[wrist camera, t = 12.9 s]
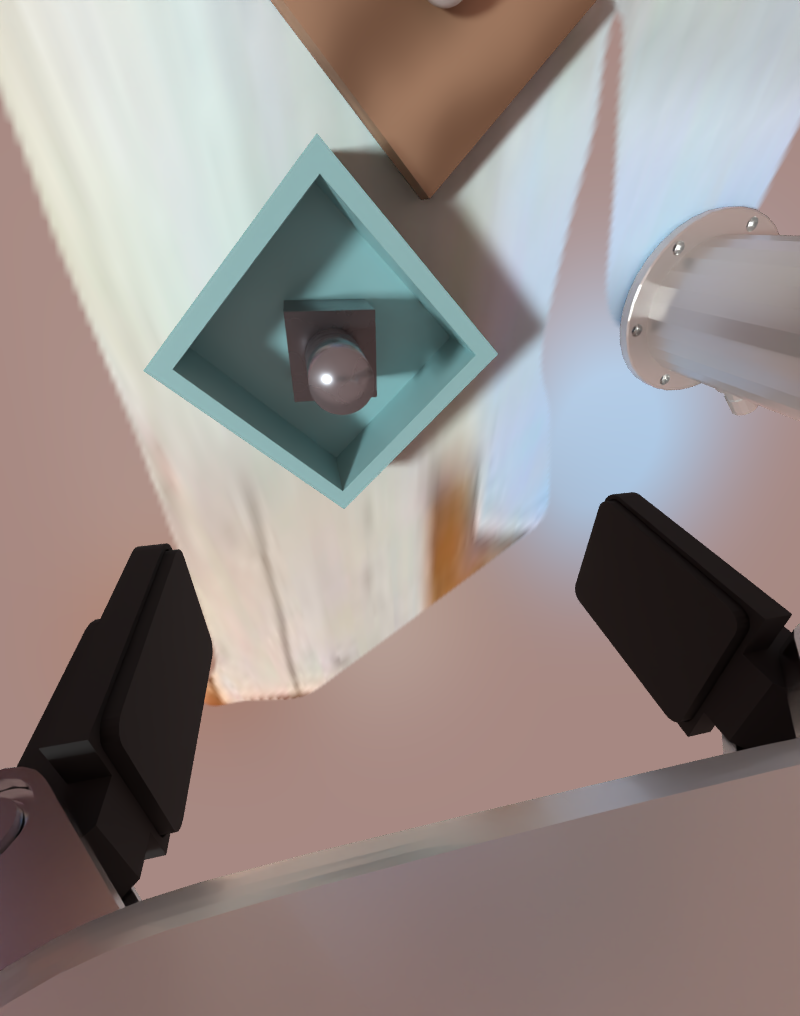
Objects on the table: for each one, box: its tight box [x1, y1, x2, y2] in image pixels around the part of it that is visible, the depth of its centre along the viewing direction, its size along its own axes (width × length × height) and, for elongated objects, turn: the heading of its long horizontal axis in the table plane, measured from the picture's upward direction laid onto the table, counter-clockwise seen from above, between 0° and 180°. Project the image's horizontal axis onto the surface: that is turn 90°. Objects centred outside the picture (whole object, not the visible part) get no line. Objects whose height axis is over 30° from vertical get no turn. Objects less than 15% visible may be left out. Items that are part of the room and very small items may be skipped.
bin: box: [144, 134, 498, 509], centre depth 27 cm, size 14×14×6 cm
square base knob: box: [283, 299, 377, 415], centre depth 25 cm, size 5×5×9 cm
